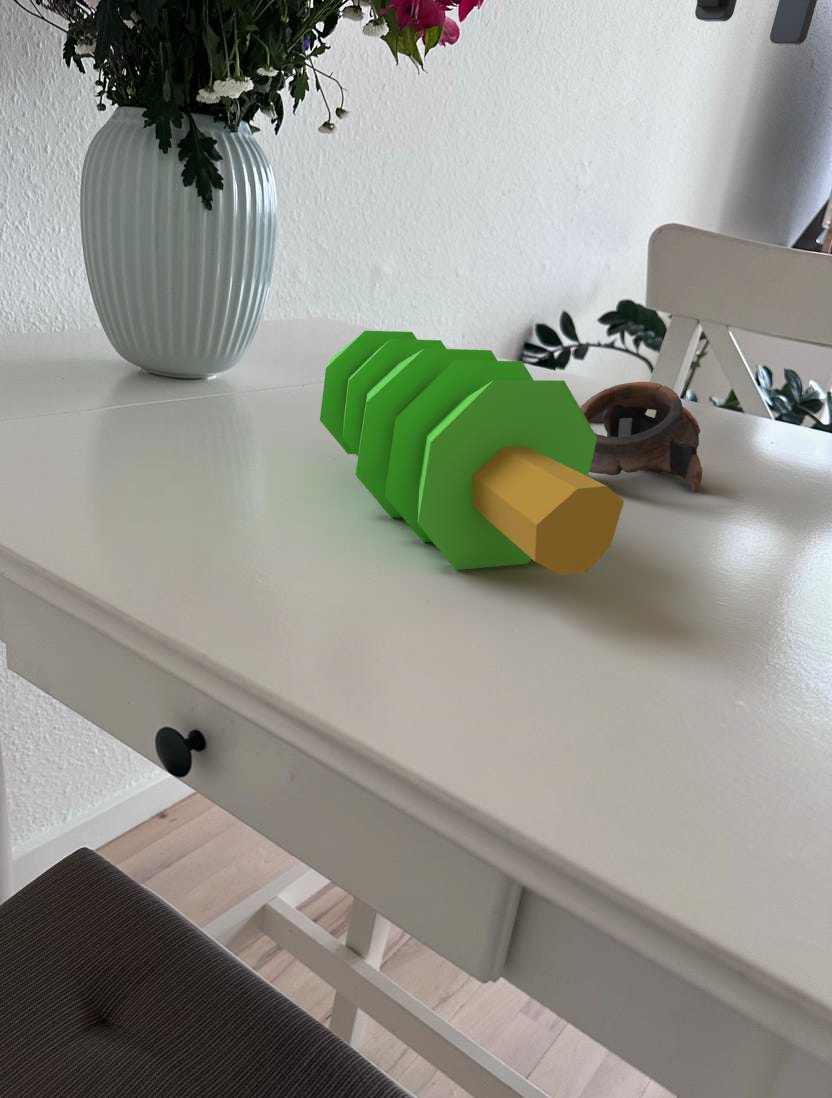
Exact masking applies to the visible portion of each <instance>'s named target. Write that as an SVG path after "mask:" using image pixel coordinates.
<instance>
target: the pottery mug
mask: <svg viewBox="0 0 832 1098" xmlns="http://www.w3.org/2000/svg"><path fill="white" fill-rule="evenodd" d="M682 401H683V400H682V399H681V398H680V397H679V394H678V393H677V392H676V391H674V390H673V389H672V388H671V387H669V386H667V385H662V384H661V383H658V382H651V381H632V382H626V383H621V384H615V385H612V386H611V387H607V388H605V389H603V390H601V391H600V392H598V393H596V394H593V396H591V397H590V398H588V399H587V400H586V401H585V402H584V403H583V404H581V405H582V406H581V407H580V409H581V410H582V412H583V414H584V416H585V417H586V419H587V421H588V422H589V421H590V420H591V419H592V418H594V417H595V416H596V415H598V414H599V413H601V412H603V411H604V414H603V420H604V423H603V426H604V429H605V431H606V436H605V435H604V434H599V433H596V432H594V433H595V435H596V436H597V441H596V445H595V449H594V454H593V458H592V462H591V466H590V470H589V473H593V474H599V475H608V476H617V475H621V473H622V471H623V472H625V473H627V474H630V473H637V472H639V471H643V470H644V471H647V472H652V473H665V474H669V475H671V476H678V477H681V478H682V479H684V480H685V481H686V482H687V483H688V485H689V486H690V488H691V492H692V493H695V494H698V493H699V492H700V491H699V489H700V486H701V483H702V478H703V467H702V465H701V460H700V457H699V454H698V447H699V445H700V441H699V440H700V436H699V435H700V433H701V428H700V425H699V423H698V420H697V419H696V418H695V417H694V415H692V413H691V412H690V411H689V410H688V409H687V408H686V407H684V406H683V402H682ZM648 410H650V411H651V410H652V411H655V414H654V417H653V416H650V415H648V414H647V412H648Z"/></svg>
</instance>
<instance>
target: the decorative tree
mask: <svg viewBox="0 0 832 1098" xmlns="http://www.w3.org/2000/svg"><path fill="white" fill-rule="evenodd" d="M325 367H326V368H325V373H324V381H323V390H322V398H321V406H320V415H319V422H320V423H322V425H323V427H324V428H325V429H326V430H327V431H328V432H329V433H330V434H331V436H332V437H333V438H334V439H335V440H336V442H337V443H338V444H339V445H340V446H341V448H342V449H343V451H344V452H346V454H347V455H356V456H357V460H356V461H357V462H356V468H355V476H356V477H357V479H358V480H359V481H360V482H361V483H362V484H363V486H364V487H365V488H366V489H367V490H368V492H369V493H370V494H371V495H372V497H373V498H374V499H375V500H376V501H377V502H378V504H379V505H380V506H381V507H382V509H383V510H384V511H385V512H386V513H387V514H388V515H389V517H390V518H392V519H393V518H394V519H395V518H402V519H403V520H404V521H405V522H406V523H407V525H408V526H409V527H410V528H411V529H412V531H413V532H414V533H415V534H416V536H417V537H418V538H419V539H420V541H422V543H433V545H434V546H435V547H436V548H437V549H438V551H439V552H440V553H441V554H442V556H444V558H445V559H446V560H447V562H448V563H449V564H450V565H451V566H452V568H453V569H454V570H455V571H456V570H457V571H459V570H470V569H480V568H481V569H483V568H493V567H504V566H505V567H506V566H514V565H525V564H526V565H527V564H529V563H530V562H531V560H532V561H534V562H535V563H537V564H539V566H542V567H544V568H546V569H547V570H549V571H551V572H553V573H555V574H557V575H560V576H561V575H569V574H583V573H587V572H588V571H589V570H590V569H591V568H592V567H593V566H594V565H595V564H596V563H597V562H598V561H599V560H600V558H601V557H602V556H603V555H604V554H605V553H606V552H607V551H608V550H609V549H610V547H612V543H613V539H614V537H615V533H616V530H617V525H618V523H619V519H620V516H621V512H622V510H623V506H624V502H625V501H624V500H623V498H621V497H620V496H619V495H617V494H616V493H615V491H613V490H612V489H611V488H610V487H609V486H608V485H605V484H603V483H602V482H600V481H598V480H596V479H593V478H592V477H590V476H589V474H590V472H589V470H590V466H591V462H592V458H593V454H594V449H595V445H596V441H597V436H596V435H595V433H596V432H595V431H594V430H593V428H592V426H591V423H588V421H587V419H586V417H585V416H584V414H583V412H582V410H581V409H580V407H579V405H580V404H579V403H578V402H577V400H576V398H575V397H574V395H573V393H572V391H571V390H570V388H569V386H568V384H567V383H566V381H565V380H554V379H553V380H549V379H547V380H545V379H544V380H542V379H541V380H536V379H535V380H534V378H533V377H532V375H531V373H530V371H529V369H528V368H527V367H526V365H525V363H524V362H523V360H498V358H497V357H496V356H495V354H494V352H493V351H492V350H491V349H467V348H466V349H464V348H462V349H461V348H459V349H458V348H447V347H446V346H445V344H444V343H443V341H442V340H441V339H418V338H417V337H416V335H415V334H414V332H413V331H395V330H394V331H393V330H364V331H363V332H361V333H360V334H359V335H358V336H357V337H355V338H354V339H353V340H351V342H349V343H348V344H347V345H346V346H345V347H343V348H342V349H341V350H340V351H339V352H338V353H336V354H335V355H333V356H332V357H331V358H330V359H329V361H328V363H327V365H326V366H325Z"/></svg>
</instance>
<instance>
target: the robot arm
mask: <svg viewBox="0 0 832 1098" xmlns="http://www.w3.org/2000/svg"><path fill="white" fill-rule="evenodd" d="M817 2H818V0H778V4H777V7H776V12H775V16H774V19H773V23H772V27H771V30H770V35H769V39H770V42H771V43H772V44H776V45H779V46H800V45H802V44H803V43H805V41H806V39H807V37H808V34H809V31H810V28H811V24H812V20H813V16H814V14H815V8H816V6H817ZM736 5H737V0H696V6H695V12H694V13H695V14H694V15H695V18H696V19H697V20H699V21H703V22H706V23H707V22H710V23H712V22H713V23H714V22H727V21H729V20H730V19H731V18H732V17H733V16H734V13H735V9H736Z"/></svg>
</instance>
